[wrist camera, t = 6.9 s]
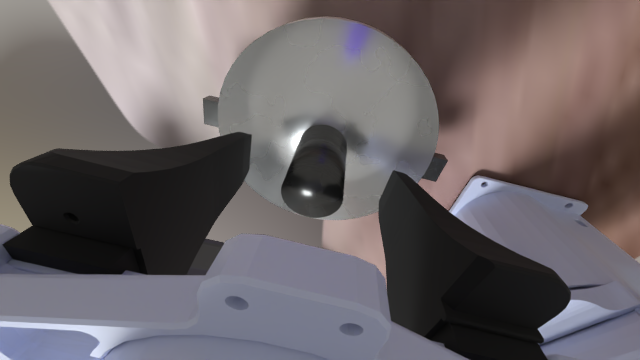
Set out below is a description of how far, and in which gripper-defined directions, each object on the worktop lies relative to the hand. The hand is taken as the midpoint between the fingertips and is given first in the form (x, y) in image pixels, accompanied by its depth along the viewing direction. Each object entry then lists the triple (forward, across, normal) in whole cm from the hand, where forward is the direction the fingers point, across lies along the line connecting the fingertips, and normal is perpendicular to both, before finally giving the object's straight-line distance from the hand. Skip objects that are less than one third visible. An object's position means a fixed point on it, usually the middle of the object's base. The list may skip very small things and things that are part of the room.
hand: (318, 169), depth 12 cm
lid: (+3, 0, -1) cm, 4 cm away
